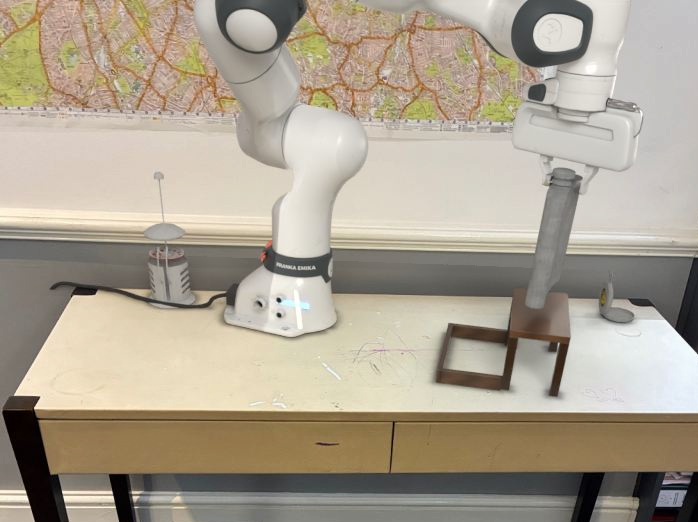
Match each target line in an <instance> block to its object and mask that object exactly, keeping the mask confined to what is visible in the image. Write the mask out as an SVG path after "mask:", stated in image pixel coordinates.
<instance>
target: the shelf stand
mask: <svg viewBox="0 0 698 522" xmlns="http://www.w3.org/2000/svg"><path fill="white" fill-rule="evenodd" d="M527 290H528V288H522V287H513V292H512V298H511V304H510V311H509V317H508V322H507V326H506V327H507V328H506V329H504V328H495V327H488V326H480V325H473V324H472V325H471V324H462V323H453V322H448V323H447V327H446V332H445V334H444V335H445V336H444V339H443V342H442V343H443V344H442V348H441V351H440V352H441V353H440V356H439V359H438V364H437V368H436V375H435V383H436V384H437V383H438V384H444V385H453V386H454V385H455V386H460V387H469V388H475V389H477V388H478V389H483V390H491V391H499V392H500V391H510V387H511V381H512V376H513V370H514V365H515V358H516V353H517V347H518V342H519V339H523V340H524V339H526V340H533V341H542V342H549V343H548V352H554V353H556V356H555V362H554V365H553V371H552V376H551V382H550V385H549V389H548V396H549V397H555V398H558V397H559V392H560V387H561V383H562V379H563V375H564V369H565V365H566V361H567V356H568V352H569V348H570V344H571V338H572V337H571V336H572V335H571V321H570V320H571V319H570V305H569V294H568V293H565V292H558V291H550V290H549V292H548V293H547V295H546V299H545V304H544V307H543V308H540V309H534V308H530V307H528V306H526V304H525V300H526V295H527ZM452 338H457V339H466V340H472V341H473V340H474V341H482V342H491V343H499V344H504V346H505V347H506V352H505V359H504V365H503V371H502V375H499V374H493V373H484V372H475V371H469V370H460V369H453V368H446V364H447V358H448V354H449V349H450V347H451V341H452Z"/></svg>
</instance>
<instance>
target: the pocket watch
mask: <svg viewBox="0 0 698 522" xmlns="http://www.w3.org/2000/svg"><path fill="white" fill-rule="evenodd" d="M608 275H609V277H608V279H609V280H607V281H604V282H603V283H602V285H601V287H600V289H599V294H598V310H599V314H601V315H602V316H603V317H604V318H605V319H607V320H609V321H612V322H617V323H629V322H632V321H633V320H635V316H636V315H635V313H634V312H633V311H632V310H629V309H627V308H624V307H618V306H612V305H613V300H614V285H613V283H612V282H613V280H614V274H613V271H612V270H611V269H610V270H609V271H608Z"/></svg>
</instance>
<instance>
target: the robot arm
mask: <svg viewBox="0 0 698 522" xmlns="http://www.w3.org/2000/svg"><path fill="white" fill-rule="evenodd" d="M348 1H349V2H352V3H354V4H356V5H359V6H360V7H365V8H367V9H371V10H374V11H378V12H382V13H388V14H394V15H399V16H402V15H403V16H404V15H407V14H409V13H412V12H418V11H423V12H429V13H432V14H436V15H438V16H441V17H443V18H445V19H448V20H450V21H452V22H455V23H457V24H460V25H462V26H465V27H467V28H469V29H471V30H472V31H474V32H476V34H478V35H479V36H480V38H481V39H482V40H483V42H484V43H485V44H486V45H487V46H488V48H489V49H490V50H491V51H492V52H494V54H496V55H497V56H499V57H501V58H505V59H509V60H512V61H513V62H516V63H518V64H520V65H522V66H524V67H527V68H530V69H542V68H548V67H555V66H556V69H555V76H553V77H547V78H545V79H543V80H539V81H534V82H530V83H527V84H525V85H523V88H522V94H521V95H522V99H523V100H524V101H522V102H521V103H520V104H519V106H518V108H517V111H516V113H515V118H514V122H513V126H512V132H511V144H512V146H513V148H514V149H516V150H520V151H525V152H529V153H533V154H538V155H539V158H538V159H539V160H538V164H539V166H540V169H541V172H542V179H541V185H542V186H544V187H545V186H546V187H548V188H549V187H550V186H551V184H552V178H553V177H554V176H553V175H552V171H553V168H552V164H551V162H553V161H554V159H559V160H564V161H568V162H572V163H577V164H582V165H585V166H584V171H583V172H584V173H586V174H585V176H584V177H583V179H582V180H579V181H576V182H575V189H574V193H576V194H579V196H580V195H581V196H584V195H586V194H587V192H588V189H589V183H590V182H591V181H593V179H594V178H595V177H596V175H597V174H598V173H599V170H600V169H603V170H607V171H611V172H612V171H613V172H617V173H621V172H625V171H627V170H630V168H631V167H633V165H634V164H635V162H636V157H637V151H638V146H639V145H638V144H639V135H640V133H641V131H642V128H643V124H644V119H645V116H644V111H643V110H642V109H641V108H640V107H639V106H638V103H636V102H631V101H623V100H621V99H616V98H613V93H614V90H615V85H616V80H617V75H618V58H619V53H620V50H621V49H622V46H623V44H624V41H625V38H626V33H627V29H628V24H629V19H630V13H631V6H632V0H348ZM193 3H194V4H193V9H192V11H193V12H192V15H193V21H194V25H195V27H196V30H197V33H198V35H199V38H200V40H201V42H202V44H203V46H204V49H205V51H206V53H207V54H208V57H209V58H210V61H211V62H212V63H213V65H214V67H215V68H216V70H217V72H218V74H219V75H220V76H221V78H222V79H223V81H224V82H225V84H226V85H227V87H228V88H229V90H230V91H231V93H232V95H233V96H234V98H235V100H236V101H237V103H238V104H239V107H240V108H241V110H240V112H239V114H238V116H237V120H236V124H235V125H236V126H235V133H236V138H237V143H238V146H239V149H240V150H241V151H242V152H243V154H244V155H246V156H248V157H249V158H251V159H253V160H254V161H257V162H259V163H260V164H263V165H265V166H267V167H272V168H277V169H282V170H284V171H285V170H286V171H290V172H293V176H294V178H293V184H292V188H291V190H290V191H288V192H286V193H284V194H282V195H281V196H280V197H278V198H277V199H276V201H275V202H274V204H273V205H272V207H271V239H269V240H268V242H266V244H265V247H264V249H263V250H262V253H261V255H260V262H262V263H263V264H261V265H260V266H259V267H257V268H256V269H255V270H253V271H252V272H250V273H249V274H248V275H246V276H245V277H244V278H243V279H242V280H241V281H240V283H235V282H234V283H233V284H231V286H230V287H229V288H228V289H227V291H225V292H222V293H218V294H214V295H212V296H211V297H210V298H209V300H208V301H207V302H205V303H200V304H190V305H186V304H179V303H170V302H163V301H158V300H154V299H150V298H149V297H146V296H142V295H140V294H139V295H138V294H135V293H133V292H129V291H127V290H124V289H120V288H115V287H111V286H110V287H109V286H104V285H96V284H86V283H85V284H84V283H77V282H73V281H64V280H63V281H58V282H55V283H54V284H52V285H51V286H50V287H49V290H50V291H54V290H56V289H57V288H59V287H61V286H68V287H74V288H80V289H87V290H88V289H90V290H98V291H99V290H102V291H107V292H112V293H116V294H121V295H124V296H128V297H130V298H134V299H136V300H139V301H143V302H147V303H149V302H151V303H156V304H162V305H167V306H172V307H180V308H179V309H204V308H207V307H210V306H211V305H212V304H213V303H214V301H215V300H218V299H221V298H225V302H226V303H225V305H226V307H225V309H224V312H223V320H224V322H225V324H228V325H232V326H236V327H241V328H247V329H251V330H255V331H260V332H265V333H268V334H273V335H278V336H283V337H287V338H296V337H298V336H301V335H304V334H309V333H315V332H320V331H323V330H326V329H329V328H331V327H333V326H334V325H335V324H336V323H337V320H338V317H337V316H338V315H337V313H336V309H335V304H334V299H333V298H334V297H333V291H332V278H333V272H334V271H333V270H334V257H333V248H332V247H331V237H332V236H331V235H332V233H331V232H332V219H333V212H334V211H333V210H334V207H335V203H336V200H337V197H338V195H339V193H340V191H342V188H343V187H344V186H345V184H346V183H347V182H348V181H350V180H351V179H352V178H354V177H355V176H357V174H358V173H359V172H360V171H361V170H362V169H363V167H364V165H365V163H366V161H367V157H368V153H369V139H368V135H367V131H366V129H365V126H364V124H363V123H362V122H361V121H360V120H358V119H357V118H355V117H353V116H351V115H348V114H346V113H344V112H342V111H339V110H337V109H332V108H327V107H321V106H315V105H310V104H306V103H303V102H301V101H299V100H298V99H297V98H298V96H299V92H300V88H301V79H302V77H301V71H300V68H299V65H298V64H297V61H296V60H295V58H294V55H292V53H291V50H290V49H289V47H288V45H287V44H286V41H287V40H288V38H289V37H290V35H291V33H292V31H293V29H294V28H295V26H296V25H297V23H298V22H300V20H301V19H302V18H303V17H304V16H305V14H306V13H307V10H308V5H307V1H306V0H195V1H194V2H193Z"/></svg>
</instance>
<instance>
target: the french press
mask: <svg viewBox="0 0 698 522" xmlns="http://www.w3.org/2000/svg"><path fill="white" fill-rule="evenodd" d="M153 179H154V180H157V181H158V186H159V187H158V188H159V197H160V205H161V206H160V207H161V215H162V222H159V223H155V224H152V225H150V226H148V227H147V228H146V229H145V230H144V231H143V235H144V237H145V238H146V239H148V240H150V241H157V242H164V244H165V246H159V245H158V246H157V247H154V248H152V249H150V251H148V256H149V257H148V259H147V266H148V273H149V280H150V281H149V282H150V283H149V284H150V291H151V294H150V295H149V296H148V298H150V299H154V300H158V301H163V302H170V303H179V304H186V305H193V304H194V302H195V301H196V300H197V299H196V295H194V294H193V292H191V287H189V286H190V285H191V284H190V283H191V282H190V281H189V280H190V276H189V275H188V274H190V273H189V271H190V270H189V269H186V268H188V267H189V262H188V258H187V257H186V256H185V255H186V251H185V250H184V249H182V248H179V247H177V246H168V245H167V244H168V243H167V242H171V241H174V240H175V241H176V240H178V239H181V238H183V237H184V236H185V234H186V230H185V229H183V228H182V227H181V226H178V225H176V224H174V223H169V222H165V215H164V205H163V198H162V187H161V180H164V179H165V175H164V173H163V172H161V171H155V172H154V173H153ZM148 304H150V305H151V306H153V307H156V308H161V309H181V308H180V307H172V306H167V305H162V304H156V303H151V302H148Z"/></svg>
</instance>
